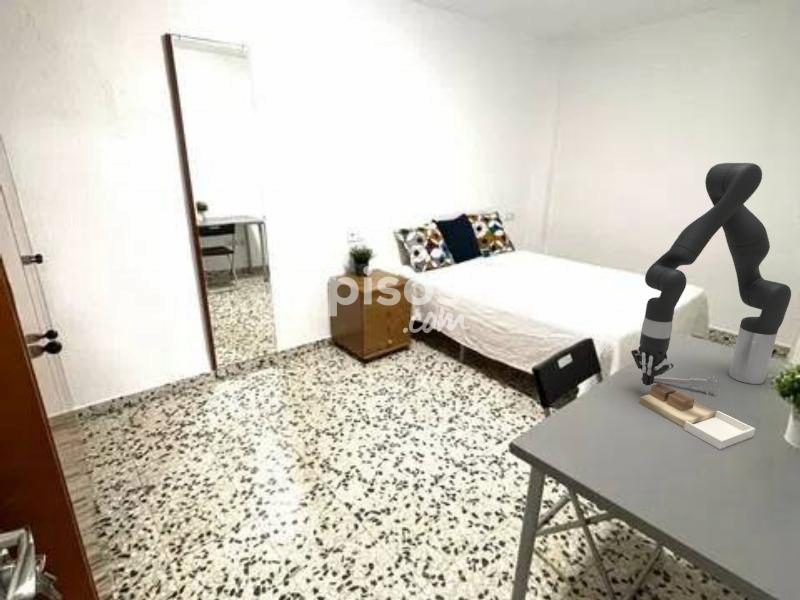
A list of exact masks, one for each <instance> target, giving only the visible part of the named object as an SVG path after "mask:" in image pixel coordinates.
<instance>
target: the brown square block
mask: <svg viewBox="0 0 800 600" xmlns="http://www.w3.org/2000/svg"><path fill="white" fill-rule="evenodd" d="M676 392H677V389H676V388H673V387H672V386H669V385H667V384H666V383H662V382H659V383H656V384H652V385H650V391H649V394H650V395H651V396H653V397H655V398H657V399H659V400H661V401H663V402H665V401H667V400H668V395H669V394H672V393H676Z"/></svg>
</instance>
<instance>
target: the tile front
mask: <svg viewBox="0 0 800 600" xmlns="http://www.w3.org/2000/svg"><path fill="white" fill-rule="evenodd" d="M694 402H695V398H694V397H692V396H689V395H688V394H686V393H684V392H682V391H676V393H672V394H669V395H668V400H667V404H668V405H670V406H672V407H674V408H676V409H678V410H680V411H685V410H688V409H691V408H693V405H694Z"/></svg>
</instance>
